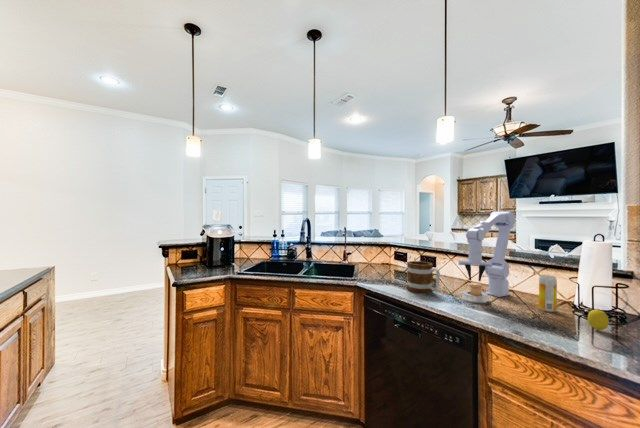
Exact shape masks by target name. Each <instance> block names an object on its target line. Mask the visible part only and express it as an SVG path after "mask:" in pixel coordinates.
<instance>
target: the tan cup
mask: <svg viewBox="0 0 640 428" xmlns="http://www.w3.org/2000/svg"><path fill="white" fill-rule="evenodd" d="M468 285H469V290H470V294H471V295H481V292H482V288H483V284H481V283H478V282H469V284H468Z"/></svg>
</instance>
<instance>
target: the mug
mask: <svg viewBox="0 0 640 428" xmlns="http://www.w3.org/2000/svg"><path fill="white" fill-rule="evenodd" d="M406 263H407V264H406V265H407V273H406V279H407V284H406V286H407V287H406V290H407V291H408V292H410V293H415V294H419V293H420V294H422V295H423V293H426V294H431V293H433V292H437V291H438V290H439V288H440V279H441V278H440V277H441V273H440V269H438V268H437V267H434V268H433V266H434V263H432V262H429V261H423V260H421V261H420V260H417V261H416V260H415V261H414V260H410V261H408V262H406ZM434 271H435V273H436V277H435V287H433V280H434V274H433V272H434Z"/></svg>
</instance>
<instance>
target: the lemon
mask: <svg viewBox="0 0 640 428" xmlns="http://www.w3.org/2000/svg"><path fill="white" fill-rule="evenodd" d="M609 321H610V319H609V317H608V315H607V314H606V312H604V311H603V310H601V309H600V308H596V309H591V310H590V311H588V314H587V322H588V324H589V325H590V327H592V329H595V330H596V331H597V330H598V332H600V331H603V330H605V329H607V328H608V326H609V323H610V322H609Z"/></svg>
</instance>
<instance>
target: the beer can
mask: <svg viewBox="0 0 640 428" xmlns="http://www.w3.org/2000/svg"><path fill="white" fill-rule="evenodd" d="M557 283H558V280H557V277H556V276H554V275H549V274H541V275H539V278H538V308H539V309H540V311H543V312H547V313H555V312H556V311H557V307H558V306H557V302H558V299H557V296H558V294H557V291H558V290H557V289H558V284H557Z"/></svg>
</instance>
